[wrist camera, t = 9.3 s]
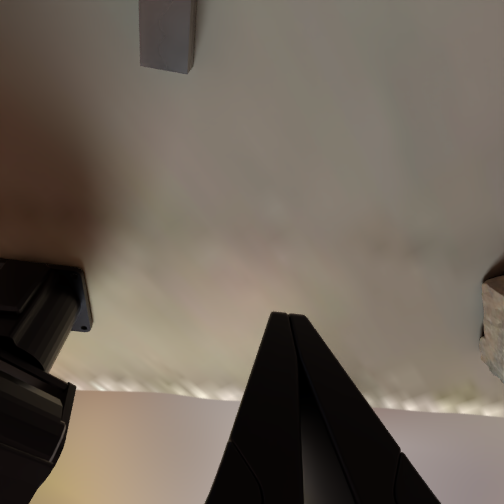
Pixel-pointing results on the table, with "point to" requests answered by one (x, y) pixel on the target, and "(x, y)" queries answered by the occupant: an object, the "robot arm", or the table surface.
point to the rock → (493, 326)
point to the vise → (167, 34)
